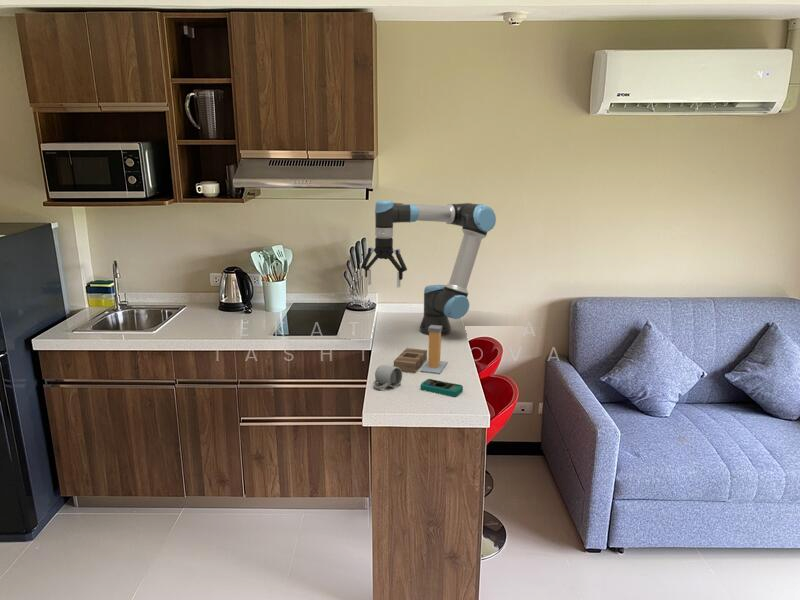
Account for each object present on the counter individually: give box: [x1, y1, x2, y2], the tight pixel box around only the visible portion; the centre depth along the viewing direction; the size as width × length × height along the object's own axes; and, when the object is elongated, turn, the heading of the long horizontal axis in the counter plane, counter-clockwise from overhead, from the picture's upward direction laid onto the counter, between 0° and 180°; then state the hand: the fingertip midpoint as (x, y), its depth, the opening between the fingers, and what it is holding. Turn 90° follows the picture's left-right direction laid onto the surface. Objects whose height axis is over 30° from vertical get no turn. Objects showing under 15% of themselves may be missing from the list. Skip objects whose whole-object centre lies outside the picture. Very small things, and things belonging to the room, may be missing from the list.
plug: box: [427, 325, 442, 368], centre depth 243 cm, size 5×5×17 cm
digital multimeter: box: [419, 378, 464, 398], centre depth 221 cm, size 7×15×3 cm, turn 62°
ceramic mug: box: [372, 364, 403, 391], centre depth 224 cm, size 11×8×8 cm
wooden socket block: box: [393, 347, 428, 374], centre depth 248 cm, size 18×9×4 cm, turn 163°
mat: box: [419, 360, 449, 375], centre depth 245 cm, size 14×8×1 cm, turn 162°
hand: (383, 285), depth 261 cm, fingers open, 13 cm apart
